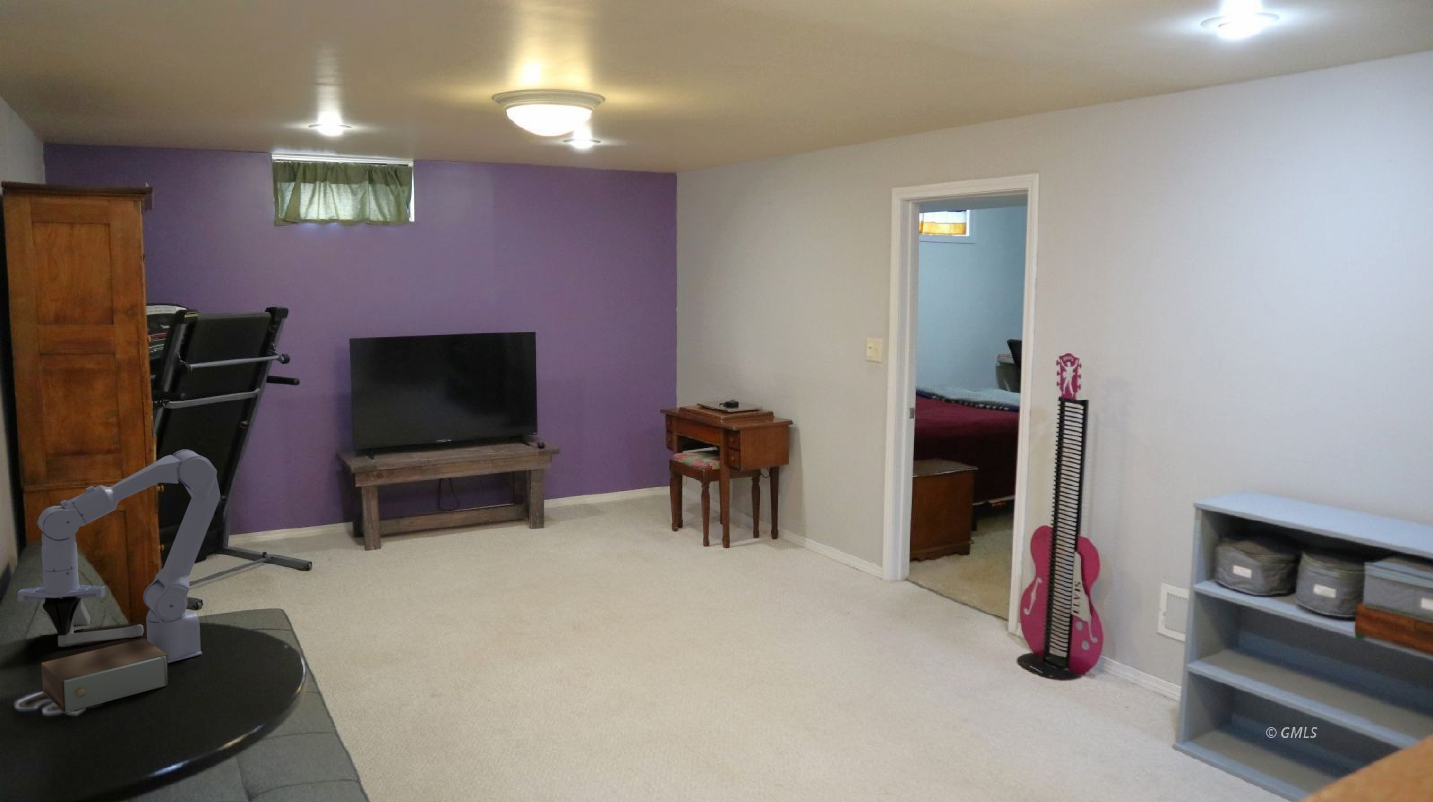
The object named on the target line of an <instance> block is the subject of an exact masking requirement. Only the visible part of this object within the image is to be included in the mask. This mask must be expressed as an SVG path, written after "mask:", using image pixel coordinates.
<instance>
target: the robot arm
mask: <svg viewBox="0 0 1433 802" xmlns="http://www.w3.org/2000/svg"><path fill="white" fill-rule="evenodd" d="M217 472H218V470H217V469H216V468H215V466H214V465H213V464H212V462H211V461H210V459H208V458H207V457H206V456H205V457H204V456H202V455H199V454H198V453H196V451H193V450H191V449H181V450H178V451H175V452H174V453H173V454H169V455H166V456H163V457H162V458H160V459H158V460H156V461H155V462H153V463H151V464H149V465H148V466H146V467H144V468H142V469H140V470H138V471H137V472H134V473H133V474H131V475H129V476H128V477H126V478H123V479H122V480H120V481H118V482H116V483H115V484H113V485H112V486H105V485H97V486H95V487H94V486H92V485H90V486H88V487H86V488H85V492H83V493H81V494H79V495H78V496H74V497H72V498H71V499H69V500H66V499H64V500H62V501H60V504H61V505H53V506H50V507H47V508H46V509H44V510H43V511H42V512H41V514H40V515H39V516H38V520H37V521H36V525H37V527H38V528H39V529H40V530H41V532H42V533H41V543H42V545H41V561H42V578H43V581H42V582H43V586H40V587H32V588H31V587H30V588H22V589H20V590H18V591H17V602H25V601H32V600H33V601H36V600H44V603H43V604H42V608H43V611H44V610H45V611H46V612H47V613H48V615H49V616H50V617H51V619H52V621H53V623H54V625H55V627H54V628H55V630H56V633H57V637H58V636H61V635H67V634H68V633H69V632H70V627H71V622H72V619H73V615H74V613H75V610H76V608H77V606H78V604H79V602H80V600H82V599H88V598H89V599H90V598H91V599H92V598H95V599H102V598H103V597H104V596H106V589H105V587H106V586H105V585H88V584H87V585H86V584H80V581H79V563H78V562H79V561H78V559H79V558H78V545H77V544H78V543H77V542H76V541H77V539H76V534H77V533H78V531H79V529H80V527H84V526H86V525H88V524H90V523H93V522H94V521H96V520H97V519H100V518H102V517H103V516H106V515H108V514H110V513H111V512H114V511H115V510H116V509H117V508H118V507H117V506H118V504H119V502H121V501H122V500H124V499H126V498H129V497H131V496H134V495H135V494H138V493H140V492H141V491H144V490H146V489H148V488H150V487H153V486H155V485H157V484H159V483H163V484H179V482H180V483H182V484H183V485H184V487H185V490H186V491H187V493H188V494H189V496H190V498H191V499H190V501H189V504H188V506H187V508H186V511H185V513H184V515H183V519H182V521H181V523H180V526H179V528H178V531H177V533H176V536H175V539H174V540H173V544H172V545H171V548H170V551H169V553H168V555H167V558H166V561H165V563H164V565H163V567H162V569H160V570H159V572H157V573H156V575H155V578H154V580H153V581H152V583H150V584H149V585H148V586H147V587H146V589H145V590H144V592H143V596H142V598H143V602H144V604H145V605H146V607H148V608H149V610H148V612H147V614H146V617H145V619H146V637H147V638H146V640H147V641H149V642H150V643H152V644H153V645H154V646H156V647H157V648H159V649H160V650H161V651H163V652H164V653H166V654H167V662H168V664H170V663H174V662H176V661H181V660H184V659H188V658H192V657H197V656H200V655H203V652H202V651H201V628H200V620H199V617H198V614H197V613H196V612H195V611H194V610H187V608H188V603H189V602H188V593H189V591H190V575H191V573H192V569H193V567H194V564H195V562H196V559H197V557H198V554H199V552H200V550H201V547H202V545H203V542H204V540H205V537H206V535H207V531H208V530H209V528H210V524H211V522H212V519H213V518H214V515H215V512H216V509H217V507H218V505H219V501H220V499H221V493H220V488H219V482H218V477H217ZM45 611H44V612H45ZM54 625H53V626H54Z"/></svg>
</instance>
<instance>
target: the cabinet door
mask: <svg viewBox="0 0 1433 802" xmlns="http://www.w3.org/2000/svg"><path fill="white" fill-rule="evenodd" d="M167 685H168V684H167V663H166V656H162V657H158V658H154V659H149V660H145V661H141V662H137V663H133V664H129V665H125V666H121V667H117V668H113V669H109V670H105V671H101V672H97V673H93V674H89V675H85V676H81V677H77V678H73V679H69V680H65V681H64V696H65V711H66V712H65V713H70V712H73V711H77V710H81V709H84V708H87V707H91V706H96V705H100V704H103V703H106V702H110V701H113V700H114V701H115V700H119V699H122V698H126V697H129V696H133V695H136V694H139V693H143V692H147V691H151V690H155V689H159V688H163V687H165V686H167Z"/></svg>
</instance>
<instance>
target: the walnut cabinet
mask: <svg viewBox="0 0 1433 802" xmlns="http://www.w3.org/2000/svg"><path fill="white" fill-rule="evenodd" d="M162 656H166V663H167V685H168V684H169V669H168V668H169V666H168V664H169V663H168V662H167V654H166V653H164V652H163V651H161V650H160V649H159V648H157V647H156V646H154V645H153V644H152V643H150V642H149V641H147V638H141V639H137V640H133V641H128V642H123V643H119V644H115V645H111V646H107V647H103V648H99V649H94V650H90V651H86V652H85V651H84V652H81V653H77V654H74V655H73V654H72V655H70V656H68V655H67V656H64V657H61V658H55V659H52V660H47V661H44V662H41V677H42V680H41V681H42V682H41V683H42V692H43V694H44V695H45V696H46V697H47V698H48V699H49V700H50V701H51V702H53V704H54V705H55V706H56V707H57V708H59V709H60V710H61V712H62V713H64V712H65V713H67V712H66V711H65V696H64V681H65V680H69V679H73V678H77V677H81V676H85V675H89V674H93V673H97V672H101V671H105V670H109V669H113V668H117V667H121V666H125V665H129V664H133V663H137V662H141V661H145V660H149V659H154V658H158V657H162Z"/></svg>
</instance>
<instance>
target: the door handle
mask: <svg viewBox="0 0 1433 802" xmlns="http://www.w3.org/2000/svg"><path fill="white" fill-rule="evenodd" d="M43 611H44V613H45V615H46V616H47V618H48V619H49V621H50V623H51V624H52V625H53V627H54V628H55V625H54V623H53V621H52V619H51V617H50V616H49V615H48V613H47V612H46V611H45V610H44V609H43ZM90 624H91V617H90V615H89V612H88V610H87V607H86V606H85V604H84V602H83V600H82V599H81V600H80V602H79V604H78V606H77V608H76V610H75V613H74V615H73V619H72V622H71V627H70V632H69V633H68V634H67V635H61V636H58V635H57V646H58V647H59V648H66V647H74V646H77V645H80V644H84V643H90V642H101V641H102V642H103V641H114V640H120V639H128V638H129V639H130V638H131V639H132V638H137V637H142V636H143V634H144V631H145V630H144V625H142V624H136V625H132V626H126V627H122V628H121V627H120V628H113V629H111V628H110V629H105V630H104V629H103V630H93V631H85V632H74V631H75V629H74V628H78V627H84V626H89V625H90Z"/></svg>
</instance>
